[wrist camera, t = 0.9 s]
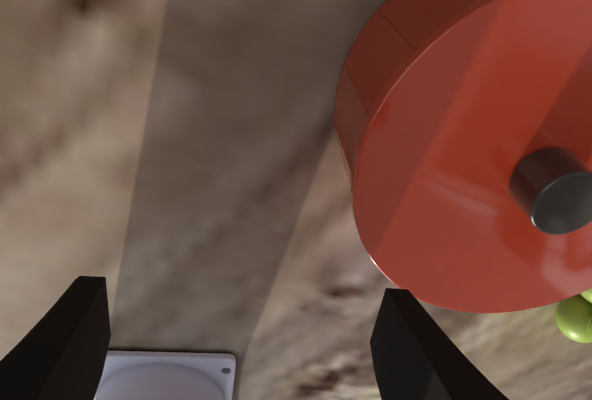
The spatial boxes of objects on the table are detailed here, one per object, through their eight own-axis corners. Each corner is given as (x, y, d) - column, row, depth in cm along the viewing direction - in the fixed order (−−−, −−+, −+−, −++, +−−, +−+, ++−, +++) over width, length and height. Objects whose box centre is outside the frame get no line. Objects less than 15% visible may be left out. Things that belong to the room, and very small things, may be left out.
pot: (543, 222, 25) (610, 303, 20) (313, 207, 23) (330, 291, 19) (665, -28, 19) (801, 7, 14) (366, -73, 17) (410, -50, 12)
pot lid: (604, 298, 21) (648, 351, 19) (319, 285, 19) (329, 342, 17) (798, -8, 15) (901, 16, 12) (395, -68, 13) (428, -54, 11)
